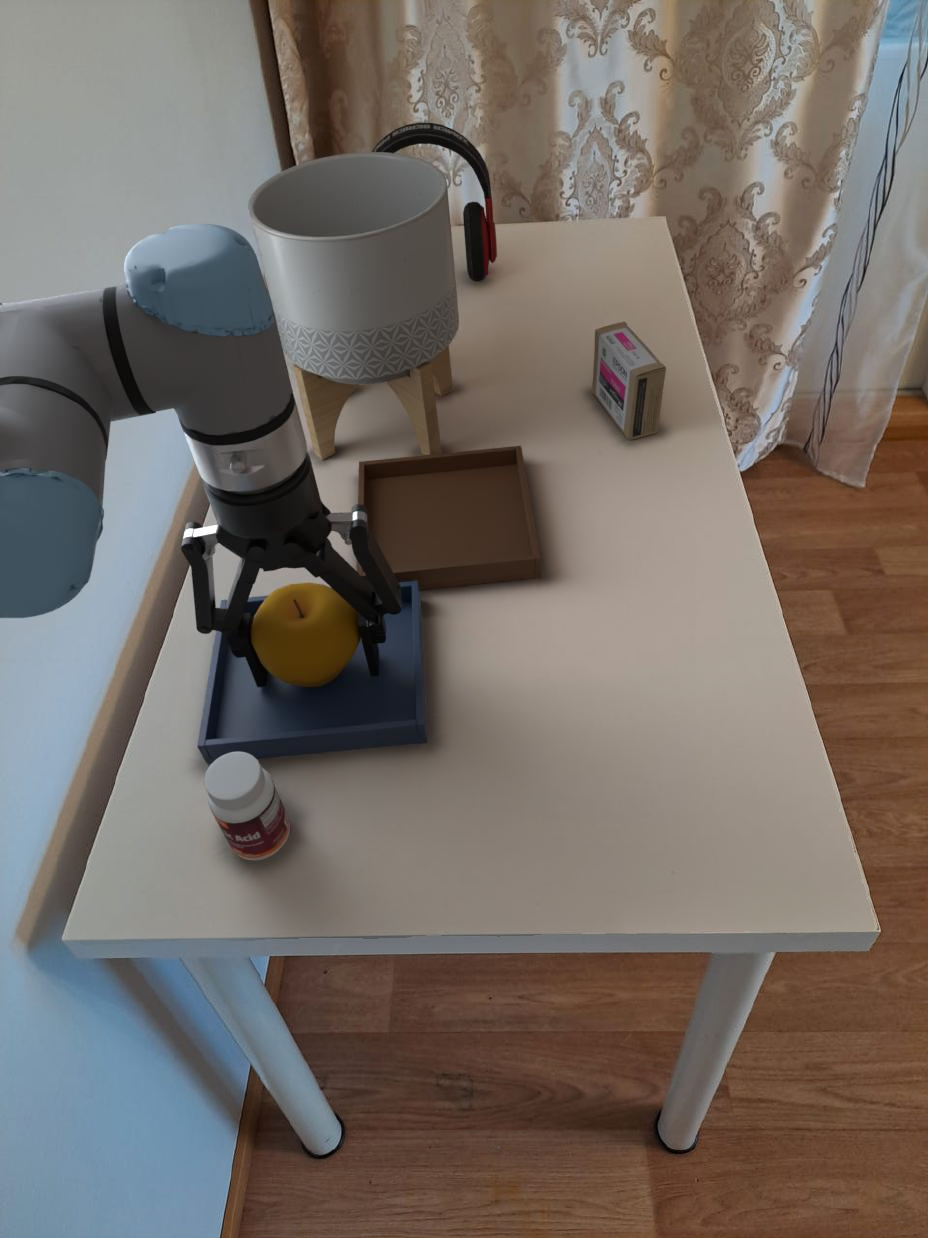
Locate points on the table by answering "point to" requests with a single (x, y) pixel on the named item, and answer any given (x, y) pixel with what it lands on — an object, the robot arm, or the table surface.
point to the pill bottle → (246, 806)
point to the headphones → (475, 224)
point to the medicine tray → (452, 517)
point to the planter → (361, 283)
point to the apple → (305, 634)
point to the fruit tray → (320, 698)
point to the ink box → (628, 380)
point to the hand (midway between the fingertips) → (318, 669)
